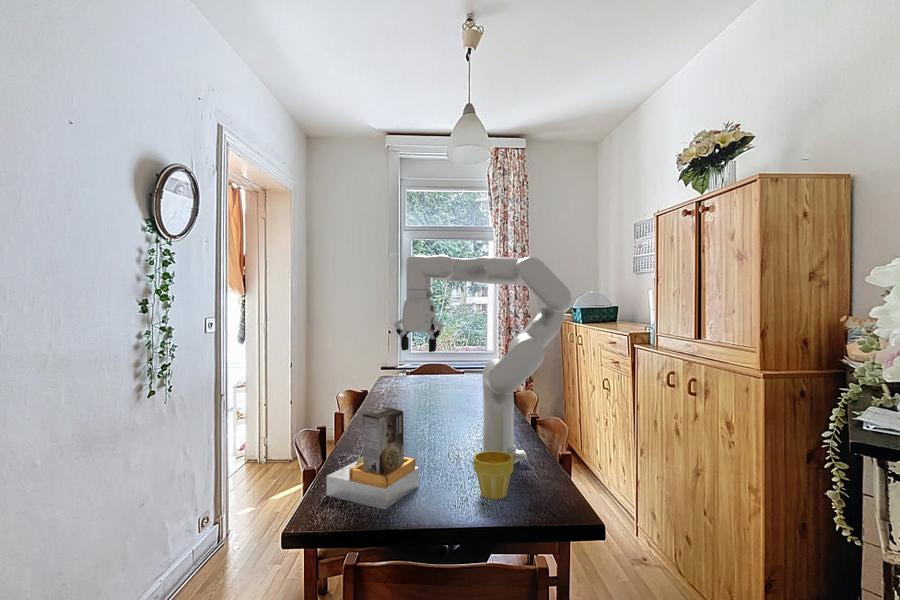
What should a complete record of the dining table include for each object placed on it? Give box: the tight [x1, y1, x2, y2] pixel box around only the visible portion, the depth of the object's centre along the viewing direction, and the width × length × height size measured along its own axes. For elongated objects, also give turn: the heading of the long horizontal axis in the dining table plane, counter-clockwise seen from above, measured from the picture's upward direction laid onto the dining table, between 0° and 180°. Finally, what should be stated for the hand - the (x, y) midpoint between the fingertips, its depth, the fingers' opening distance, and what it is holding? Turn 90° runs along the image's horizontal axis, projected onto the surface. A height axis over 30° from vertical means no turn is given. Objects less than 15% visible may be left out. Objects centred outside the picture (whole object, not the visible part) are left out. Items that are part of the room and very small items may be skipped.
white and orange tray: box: [326, 456, 420, 510], centre depth 125 cm, size 18×16×8 cm
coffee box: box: [362, 406, 405, 475], centre depth 124 cm, size 9×6×16 cm
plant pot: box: [473, 451, 515, 500], centre depth 123 cm, size 10×10×10 cm
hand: (418, 350), depth 147 cm, fingers open, 9 cm apart
